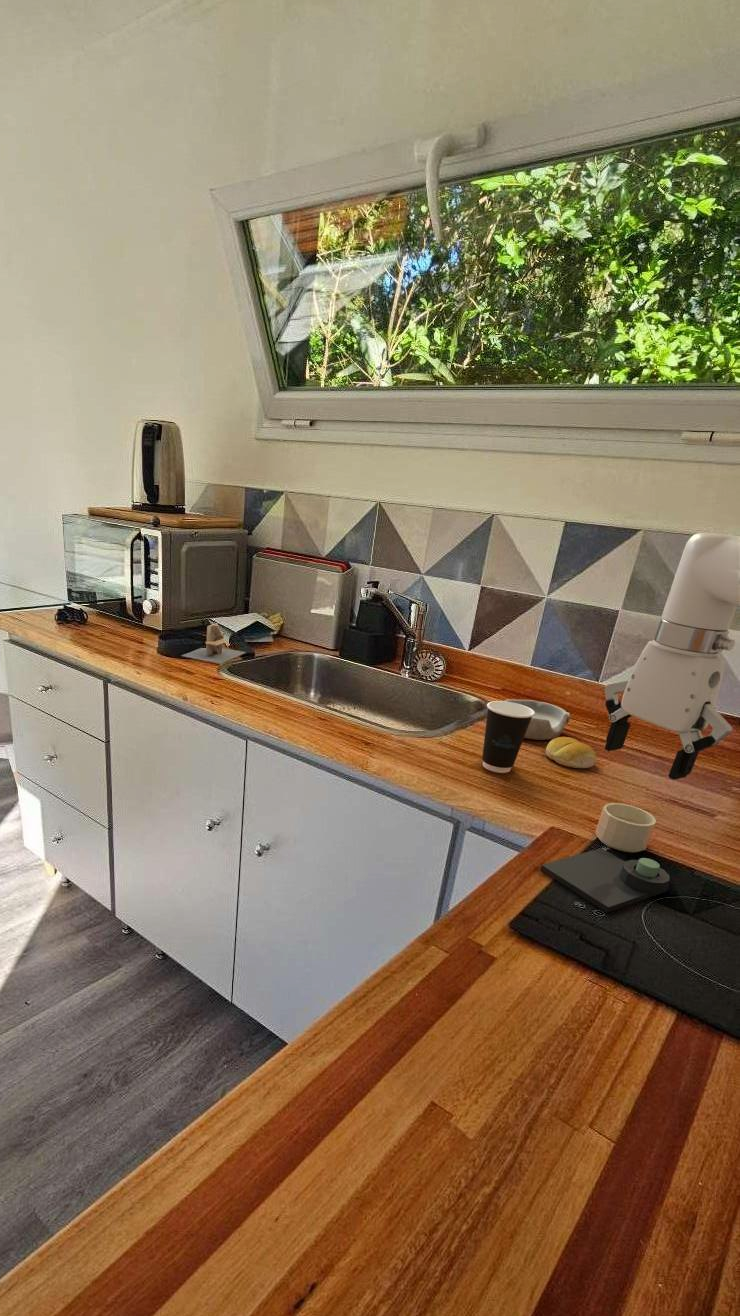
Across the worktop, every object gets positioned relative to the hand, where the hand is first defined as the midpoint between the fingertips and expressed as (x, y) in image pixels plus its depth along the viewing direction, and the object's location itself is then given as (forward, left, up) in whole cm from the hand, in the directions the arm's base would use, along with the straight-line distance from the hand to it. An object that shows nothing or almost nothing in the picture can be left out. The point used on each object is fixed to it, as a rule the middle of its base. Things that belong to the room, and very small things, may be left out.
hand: (643, 762), depth 91 cm
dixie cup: (-3, -27, -12) cm, 29 cm away
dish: (-25, -40, -12) cm, 48 cm away
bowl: (0, 0, -12) cm, 12 cm away
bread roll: (-20, -25, -12) cm, 34 cm away
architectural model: (+15, -108, -12) cm, 110 cm away
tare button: (+9, +9, -10) cm, 16 cm away
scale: (+12, +6, -12) cm, 18 cm away
